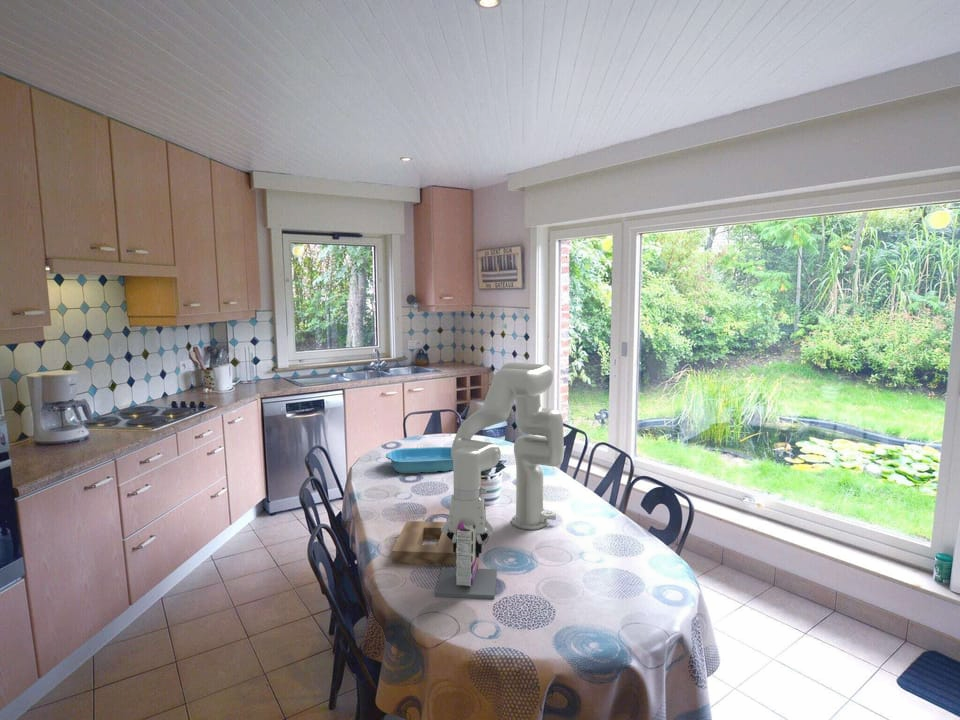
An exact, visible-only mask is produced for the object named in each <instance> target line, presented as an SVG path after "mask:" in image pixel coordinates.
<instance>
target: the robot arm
mask: <svg viewBox="0 0 960 720" xmlns="http://www.w3.org/2000/svg"><path fill="white" fill-rule="evenodd" d="M553 380H554V374H553V370H552V368H551V367H550V366H548V364H542V363H541V364H540V363H526V362H507V363H505V364H503V365H502V366H501V369H499V370H498V371H496V372H495V373H494V375H493V378H492V380H491V384H490V386H489V389H488V392H487V393H486V396H485V400H484V401H483V404H482V407H480V408H479V409H478V410H476V411H475V412H474V413H472V414H470V415H469V416H468V417H467V418H466V419H465V420H464V421H463V422H462V423H461V424H460V425H459V427H458V430H457V431H456V434H455V436H454V440H453V442H452V445H451V447H452V449H451V457H452V459H453V470H452V471H453V494H452V495H451V497H450V503H449V514H448V519H447V521H445V522H446V523H445V524H444V525H443V526H442V528H441V531H442V532H443V533H444V534H446V535H447V536H448V537H449V538H450V539H451V540H452V542H453V552H455V556H456V529H457V527H458V525H475V534H476V538H477V542H476V557H477V558H478V559H479V558H480V554H482V552H483V550H482V549H483V542H484V541H485V540H486V539H487V538H488V537H489V536H490V535H492V534H493V533H494V531H495V528H494V527H493V525H491V523H490V522H489V521H488V520H487V518H486V517H487V514H486V513H487V512H486V502H485V497H484V495H486V494H487V488H483V486H482V484H481V483H482V480H481V479H482V476H481V475H482V472H484V471H487V470H492V469H493V468H494V467H496V466H497V465H498V463H499V462H500V460H501V455H502V454H501V453H502V452H501V450H500V447H499V446H498V445H497V444H496V443H492V442H488V441H481V440H475V439H472V438H473V436H475V434H477V433H478V432H480V431H481V430H483V429H486V428H489V427H492V426H495V425H499V424H501V423H504V422H506V421H507V420H508V419H509V417H510V414H511V411H512V408H513V406H514V402H515V410H516V411H515V412H516V413H515V414H516V415H515V416H516V426H517V429H518V431H519V432H520V433H523V434H527V435H521V436H518V437H517V438H516V440H515V441H514V443H513V455H514V458H515V466H516V467H515V469H516V470H515V471H516V472H515V473H516V475H515V476H516V478H515V480H516V481H515V482H516V483H515V484H516V485H515V487H516V490H515V492H516V493H515V496H516V497H515V514H514V515H513V516H512V518H511V524H512V525H513V526H514V527H516V528H519V529H522V530H528V531H529V530H531V531H532V530H539V529H542V528H545V527H546V526H547V524H548V520H551V521H556V520H557V515H556V514H554V513H553V512H552V511H548V512H547V511H544V474H543V471H542V469H541V467H540V466H544V467H545V466H546V467H559V466H560V465H561V464H562V463H563V461H564V457H565V443H564V441H565V440H564V421H563V417H562V413H561V412H560V411H558V410H557V409H554V408H547V407H542V403H541V395H542V394H543V393H545V392H546V391H548V390H549V389H550V387H551V386H552V383H553ZM448 527H449V529H448Z"/></svg>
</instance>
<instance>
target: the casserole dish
mask: <svg viewBox="0 0 960 720" xmlns="http://www.w3.org/2000/svg"><path fill="white" fill-rule="evenodd" d="M451 449H452V446H435V447H434V446H431V447H430V446H429V447H412V448H411V447H408V448H407V447H406V448H396V449H392V450H391V451H389V452H388V453H386V454H385V458H386V459H387V460H390V462H391V464H392V468H393V470H394V471H396V472H397V473H398V472H399V473H398V474H421V473H420V472H426V473H428V472H430V473H438V472H437V471H445V472H450V471H449V470H452V471H453V459H452V457H451Z"/></svg>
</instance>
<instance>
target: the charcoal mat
mask: <svg viewBox="0 0 960 720" xmlns="http://www.w3.org/2000/svg"><path fill="white" fill-rule="evenodd" d="M497 572H498V569H497V568H478V570H477V573H476V576H475V579H474V582H473V586H472V587H469V586H459V585H456V567H447V566H445V567H444V566H442V569H441V572H440V575H439V580H438V583H437V586H436V589H435V593H434V594H435V595H434V596H435V597H440V598H441V597H444V598H445V597H446V598H462V599H463V598H466V599H467V598H468V599H469V598H470V599H486V600H487V599H492V600H494V599H495V597H496V586H497V585H496V584H497V574H498V573H497Z"/></svg>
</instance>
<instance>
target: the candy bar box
mask: <svg viewBox="0 0 960 720" xmlns="http://www.w3.org/2000/svg"><path fill="white" fill-rule="evenodd" d="M476 542H477V538H476V534H475V525H458V527H457V529H456V566H455V568H456V585H459V586H469V587H472V586H473V582H474V579H475V576H476V573H477V570H478V569H479V558H477V557H476Z"/></svg>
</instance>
